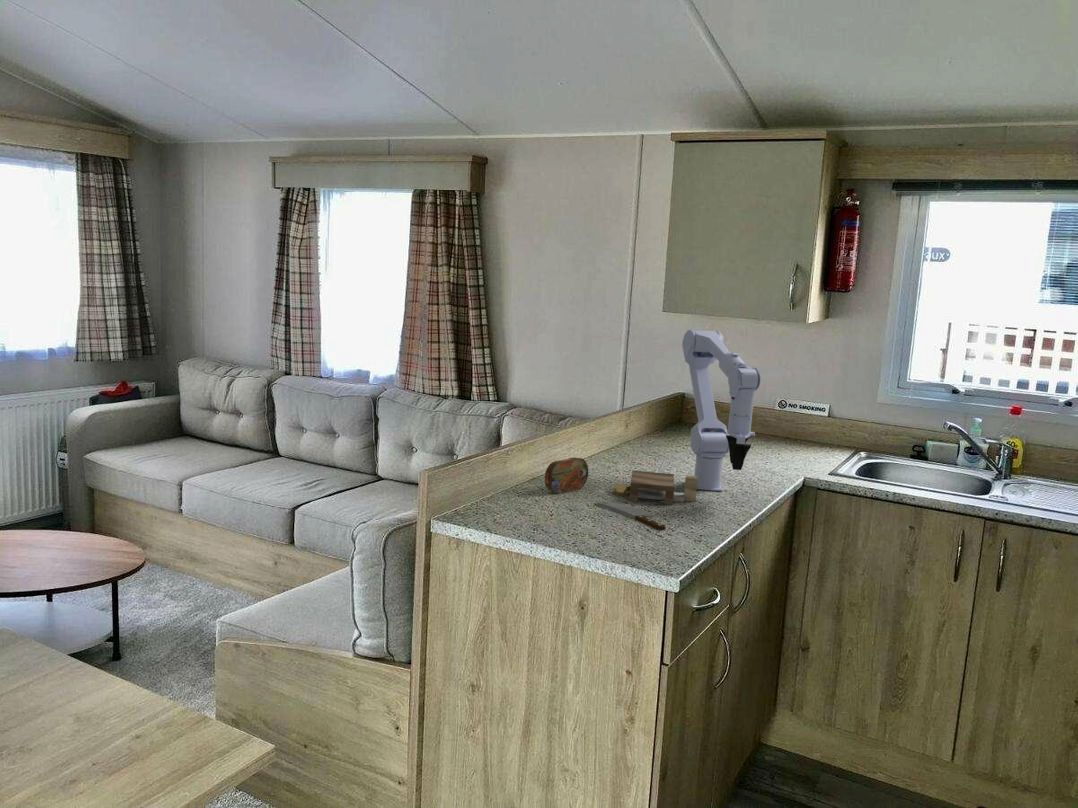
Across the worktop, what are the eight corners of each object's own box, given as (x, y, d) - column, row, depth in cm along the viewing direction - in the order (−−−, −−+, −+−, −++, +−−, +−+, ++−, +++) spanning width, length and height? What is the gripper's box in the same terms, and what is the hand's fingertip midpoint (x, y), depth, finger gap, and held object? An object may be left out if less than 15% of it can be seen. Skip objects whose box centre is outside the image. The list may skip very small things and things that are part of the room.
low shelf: (631, 487, 241) (632, 470, 241) (672, 491, 240) (673, 474, 239) (629, 500, 228) (630, 482, 227) (672, 504, 226) (674, 486, 226)
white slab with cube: (632, 491, 237) (634, 469, 236) (695, 497, 235) (697, 474, 234) (631, 497, 232) (633, 474, 231) (696, 503, 229) (698, 480, 228)
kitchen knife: (687, 525, 208) (653, 527, 202) (686, 529, 208) (652, 531, 203) (624, 499, 228) (592, 500, 223) (624, 503, 228) (592, 504, 223)
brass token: (613, 490, 238) (614, 483, 237) (632, 492, 237) (632, 485, 237) (612, 495, 233) (612, 487, 232) (631, 497, 232) (631, 489, 232)
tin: (550, 496, 228) (552, 463, 226) (541, 493, 230) (543, 461, 229) (588, 487, 239) (590, 456, 237) (579, 485, 241) (581, 454, 240)
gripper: (759, 420, 222) (754, 473, 224) (753, 411, 236) (748, 461, 238) (730, 418, 223) (725, 471, 225) (726, 409, 237) (722, 459, 239)
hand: (735, 466), depth 232 cm, fingers open, 7 cm apart
